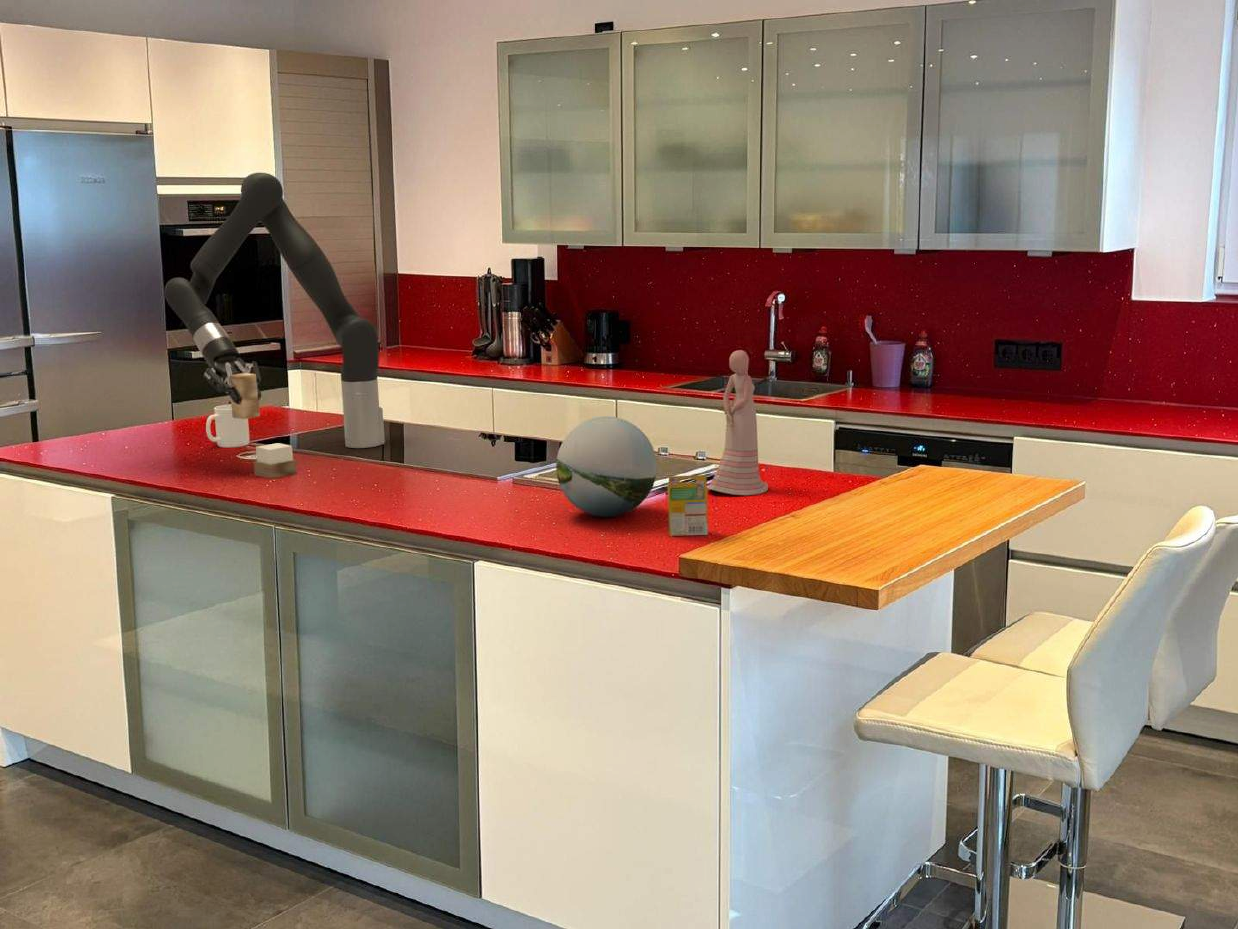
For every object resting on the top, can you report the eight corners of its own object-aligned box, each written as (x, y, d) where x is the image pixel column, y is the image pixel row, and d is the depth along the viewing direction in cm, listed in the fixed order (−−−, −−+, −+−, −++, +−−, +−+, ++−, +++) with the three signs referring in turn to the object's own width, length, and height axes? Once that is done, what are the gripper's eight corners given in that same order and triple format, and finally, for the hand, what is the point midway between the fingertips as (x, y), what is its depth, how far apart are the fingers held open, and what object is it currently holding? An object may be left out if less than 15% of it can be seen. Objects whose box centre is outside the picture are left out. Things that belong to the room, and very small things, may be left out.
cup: (256, 443, 358) (253, 405, 356) (217, 451, 349) (214, 412, 347) (237, 440, 363) (234, 403, 361) (198, 448, 354) (195, 409, 352)
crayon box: (706, 531, 257) (705, 471, 255) (708, 535, 254) (707, 475, 252) (668, 532, 257) (667, 473, 255) (669, 536, 254) (668, 476, 252)
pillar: (249, 414, 322) (245, 372, 320) (259, 416, 319) (255, 374, 317) (232, 417, 319) (228, 375, 316) (243, 419, 316) (239, 376, 313)
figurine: (767, 483, 296) (766, 346, 290) (770, 496, 284) (769, 354, 278) (707, 483, 297) (705, 347, 291) (707, 497, 285) (705, 355, 279)
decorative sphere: (650, 501, 282) (648, 406, 278) (664, 525, 263) (662, 423, 259) (554, 506, 280) (550, 411, 276) (562, 530, 260) (558, 428, 256)
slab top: (279, 457, 322) (278, 442, 322) (293, 460, 318) (291, 445, 317) (256, 461, 318) (255, 446, 317) (270, 464, 314) (269, 449, 313)
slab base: (279, 471, 324) (278, 456, 323) (297, 474, 319) (296, 460, 318) (254, 476, 319) (253, 461, 318) (271, 479, 314) (270, 465, 313)
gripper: (193, 339, 315) (227, 394, 309) (247, 332, 325) (280, 385, 319) (184, 360, 319) (217, 415, 314) (237, 352, 329) (270, 406, 324)
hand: (249, 400), depth 317 cm, fingers closed on pillar, 4 cm apart
